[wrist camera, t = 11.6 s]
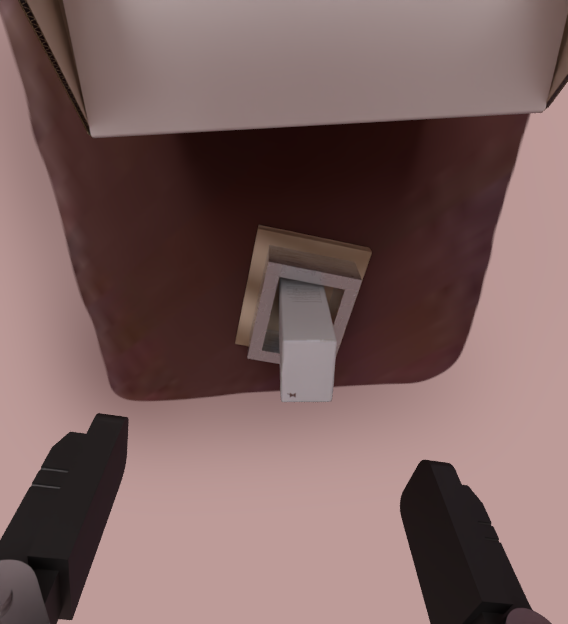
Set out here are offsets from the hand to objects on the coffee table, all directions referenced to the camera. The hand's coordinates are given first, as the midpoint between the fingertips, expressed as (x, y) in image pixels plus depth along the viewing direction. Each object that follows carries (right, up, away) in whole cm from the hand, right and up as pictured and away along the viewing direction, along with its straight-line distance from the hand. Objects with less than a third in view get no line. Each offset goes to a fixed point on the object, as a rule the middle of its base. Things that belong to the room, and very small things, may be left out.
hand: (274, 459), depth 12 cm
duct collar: (+2, +5, +32) cm, 32 cm away
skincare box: (+2, +5, +32) cm, 32 cm away
